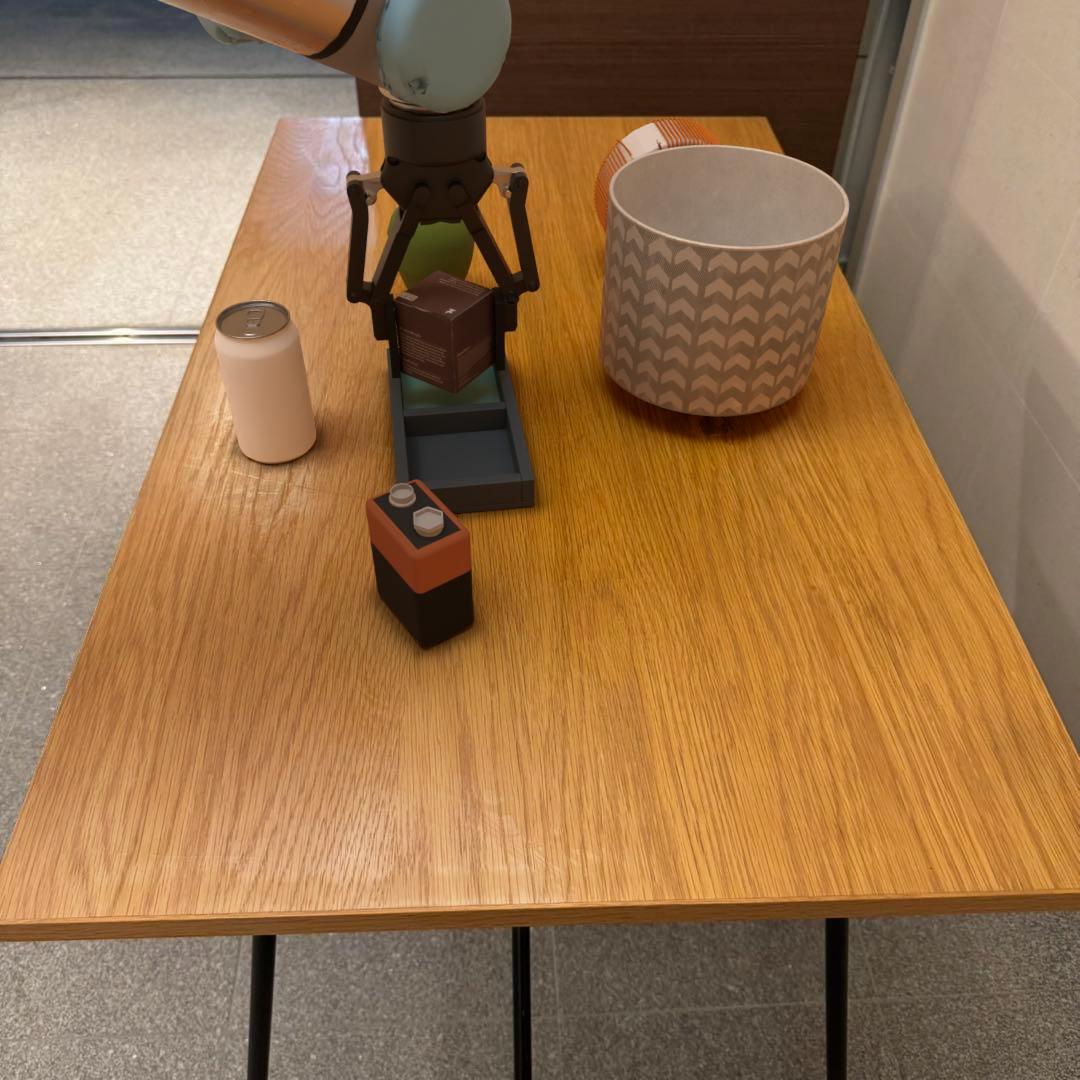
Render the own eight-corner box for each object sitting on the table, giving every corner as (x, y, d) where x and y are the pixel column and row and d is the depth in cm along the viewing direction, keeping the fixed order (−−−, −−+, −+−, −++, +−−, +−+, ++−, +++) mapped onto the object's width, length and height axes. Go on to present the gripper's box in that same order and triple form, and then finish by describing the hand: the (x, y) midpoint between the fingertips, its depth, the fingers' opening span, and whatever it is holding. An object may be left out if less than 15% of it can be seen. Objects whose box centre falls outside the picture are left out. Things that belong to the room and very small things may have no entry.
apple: (487, 320, 99) (484, 210, 91) (403, 332, 98) (393, 220, 90) (467, 278, 105) (462, 171, 98) (388, 289, 104) (377, 181, 96)
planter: (598, 442, 85) (611, 244, 73) (596, 324, 99) (606, 141, 87) (821, 448, 85) (872, 251, 73) (787, 329, 99) (826, 146, 86)
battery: (423, 653, 68) (412, 547, 61) (375, 594, 72) (359, 488, 65) (477, 625, 70) (472, 520, 63) (427, 569, 74) (417, 464, 67)
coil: (589, 255, 110) (596, 117, 99) (721, 245, 112) (741, 109, 101) (603, 286, 105) (611, 145, 94) (740, 276, 107) (763, 136, 96)
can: (234, 468, 82) (203, 342, 74) (244, 421, 87) (215, 298, 79) (314, 464, 83) (291, 339, 74) (320, 418, 87) (299, 295, 79)
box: (497, 365, 87) (496, 289, 82) (454, 397, 83) (451, 320, 78) (442, 343, 89) (438, 268, 84) (398, 373, 86) (391, 297, 81)
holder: (400, 518, 78) (397, 491, 76) (389, 374, 92) (386, 348, 90) (534, 506, 79) (534, 479, 77) (502, 365, 94) (502, 339, 92)
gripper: (569, 71, 75) (560, 334, 90) (283, 81, 72) (324, 350, 88) (587, 107, 69) (574, 381, 85) (279, 120, 67) (324, 399, 82)
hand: (447, 365), depth 86 cm, fingers closed on box, 8 cm apart
